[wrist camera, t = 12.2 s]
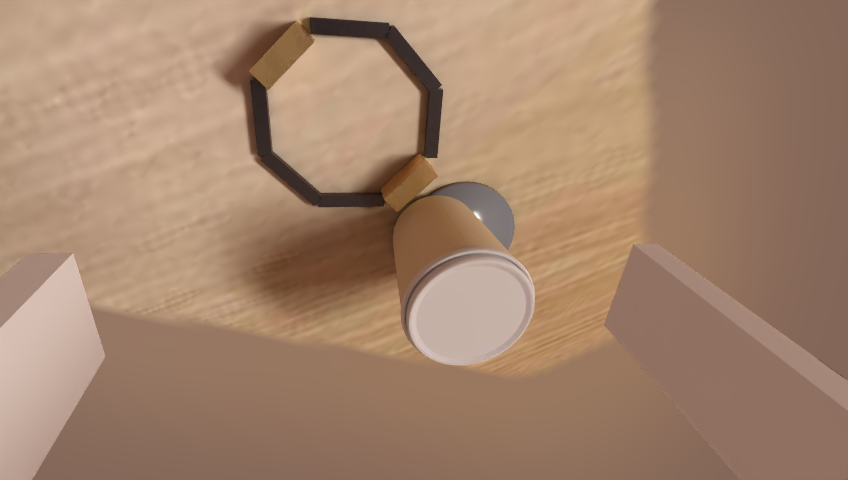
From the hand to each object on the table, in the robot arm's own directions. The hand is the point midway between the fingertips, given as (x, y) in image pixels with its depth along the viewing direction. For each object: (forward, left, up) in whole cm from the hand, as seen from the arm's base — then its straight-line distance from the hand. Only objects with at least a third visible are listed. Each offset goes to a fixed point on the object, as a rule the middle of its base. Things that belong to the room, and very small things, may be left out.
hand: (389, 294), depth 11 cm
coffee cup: (+7, -12, -26) cm, 29 cm away
